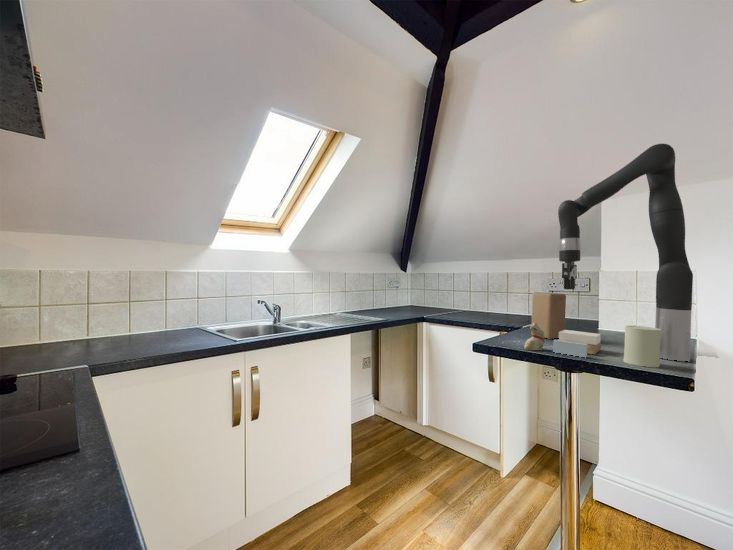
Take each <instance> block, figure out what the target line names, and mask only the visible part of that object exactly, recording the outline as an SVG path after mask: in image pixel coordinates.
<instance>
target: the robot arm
mask: <svg viewBox="0 0 733 550" xmlns="http://www.w3.org/2000/svg"><path fill="white" fill-rule="evenodd" d="M675 167H676V152H675V149H674V148H673V147H672V146H671V145H670V144H668V143H657V144H653V145H651V146H650V147H648V148H646V150H644V151H643V152H641V153H640V154H639V155H638V156H636V157H635V158H634V159H632V161H630V162H628V163H627V164H626V165H624V166H623V167H622V168H620V169H619V170H617V171H616V172H614V173H612V174H611V175H609V176H608V177H606V178H605V179H603V180H601V181H600V182H597V184H595V185H592V186H591V187H589V188H588V189H586V190H584V191H583V192H582V194H581V196H579V197H578V198H576V199H575V200H572V199H568V200H564V201H562V202H561V203H560V205H559V206H558V210H557V212H558V213H557V214H558V222H559V228H560V229H559V244H558V245H559V246H558V247H559V248H558V250H559V251H558V253H559V255H558V261H559V262H562V263H561V278H562V279H563V289H564V290H575V289H576V280H577V278H578V273H577V272H578V271H577V267H578V266H577V264H575V262H580V261H581V237H580V236H581V230H580V229H581V228H580V226H579V225H580V224H579V222H578V220H579V219H578V218H579V217H581V216H582V215H584V214H585V213H587V212H588V211H589V210H590V209H592V208H593V207H595V206H597V205H599V204H601V203H602V202H604V201H606V200H608V199H609V198H611V197H613V196H614V195H615V194H617V193H618V192H620V191H621V190H622V189H623V188H625V187H626V186H627V185H629V184H631V183H632V182H634V181H635V180H636V179H638V178H640V177H642V176H644V175H646V180H647V183H648V189H649V190H648V191H649V195H648V216H649V224H650V230H651V232H652V233H651V234H652V236H653V240H654V242H655V246H656V249H657V252H658V270H657V272H656V279H655V283H656V284H655V285H656V286H655V326H654V328H658V329H661V336H660V359H662V358H663V360H667V359H668V360H669V361H674V360H677V361H676V362H685V361H688V362H687V363H690V362H691V361H690V360H691V344H692V343H691V340H692V338H691V337H692V333H691V332H692V331H691V330H692V328H691V327H692V309H693V308H692V307H693V285H694V283H693V281H694V274H693V271H692V269H691V267H690V264H689V260H688V256H687V252H686V245H685V244H686V222H685V221H686V220H685V213H684V207H683V203H682V199H681V196H680V194H679V191H678V188H677V185H676V168H675ZM668 360H667V361H668Z"/></svg>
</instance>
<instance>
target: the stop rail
mask: <svg viewBox="0 0 733 550" xmlns="http://www.w3.org/2000/svg"><path fill="white" fill-rule="evenodd" d="M552 340H553V342H552V353H553V352H555V353H554V354H556V353H561V354H560V355H563V354H567V355H566V356H569V355H573V356H572V357H575V356H579V357H578V358H581V357H585V358H584V359H587V358H588V354H587V348H588V344H583V343H576V342H569V341H562V340H559V339H552ZM586 357H587V358H586Z"/></svg>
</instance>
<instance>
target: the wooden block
mask: <svg viewBox="0 0 733 550" xmlns="http://www.w3.org/2000/svg"><path fill="white" fill-rule="evenodd" d="M531 300H532V303H531V325H530V326H532V325H533V323H536V324H537V325H538V327H539V328H540V329H541V330H542V331H544V336H545V338H547V339H546V340H555V339H554V338H559V332H560V331H563V330H566V307H567V305H566V303H567V295H566V294H565V293H558V292H540V291H539V292H535V291H534V292H533V293H532V299H531ZM530 335H531V336H533V333H532V331H531V330H530Z"/></svg>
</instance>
